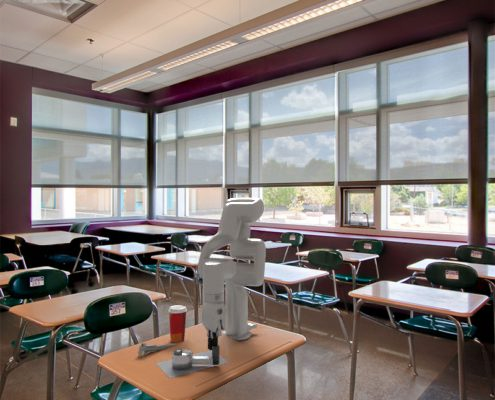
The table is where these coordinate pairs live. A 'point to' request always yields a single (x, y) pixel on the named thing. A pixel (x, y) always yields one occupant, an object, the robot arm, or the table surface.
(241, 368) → the table surface
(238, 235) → the robot arm
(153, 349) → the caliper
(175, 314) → the paper cup
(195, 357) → the metal crank handle
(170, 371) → the stand
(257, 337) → the table surface
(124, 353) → the table surface
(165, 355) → the table surface
